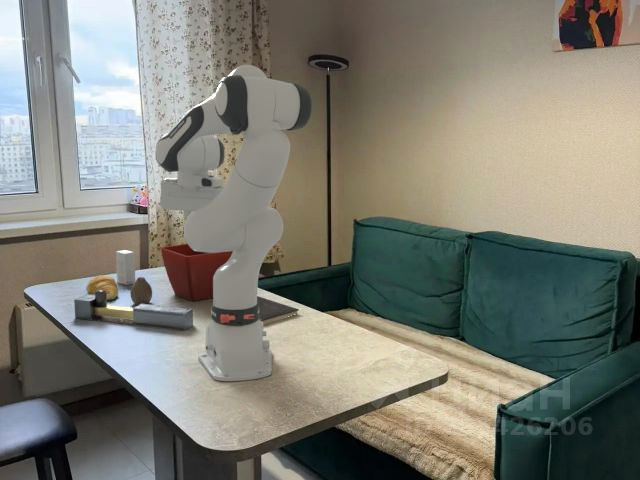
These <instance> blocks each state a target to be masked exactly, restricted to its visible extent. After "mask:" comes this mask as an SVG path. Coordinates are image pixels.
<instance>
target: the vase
mask: <svg viewBox="0 0 640 480" xmlns="http://www.w3.org/2000/svg"><path fill="white" fill-rule="evenodd" d="M130 298H131V301H132V303H133V304H134V305H136V306H138V305H140V304H149V303H150V302H151V300H152V299H153V289H152V286H151V285H150V283H149V282H148V281H147V279H146V277H144V276H140V277H136V279H135V283H133V284H132V286H131V288H130Z"/></svg>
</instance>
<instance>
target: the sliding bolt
mask: <svg viewBox="0 0 640 480" xmlns="http://www.w3.org/2000/svg"><path fill="white" fill-rule="evenodd" d="M107 303H108V302H107V299H106V290H96V291H95V304H93V315H98V316H107V317H116V318H125V319H133V308H134V307H128V306H127V307H126V306H116V305H108V304H107Z"/></svg>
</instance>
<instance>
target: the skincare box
mask: <svg viewBox="0 0 640 480" xmlns="http://www.w3.org/2000/svg"><path fill="white" fill-rule="evenodd" d="M115 259H116V260H115V261H116V263H115V264H116V283H118V284H122V285H124V286H128V285H133V284H134V283H135V282H136V265H135V264H136V263H135V259H136V258H135V252H134V251H131V250H126V249H123V250H117V251H115Z"/></svg>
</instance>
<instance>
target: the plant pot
mask: <svg viewBox="0 0 640 480" xmlns="http://www.w3.org/2000/svg"><path fill="white" fill-rule="evenodd" d="M160 250H161V251H160V252H161V256H162V261H163V265H164V269H165V272H166V275H167V278H168V281H169V284H170V286H171V288H172V291H173V293H174V294H175V295H177V296H179V297H182V298H183V299H187V300H188V301H191V302H196V301H201V300H206V299H211V298H213V277H214V274H215V272H216V271H217V269H218V268H219V267H221V266H222V265H224V264H225V263H226V262H227V261H228V260H229V259H230V257H231V255H232V252H233V251H228V252H219V253H206V252H197V251H194V250H193V249H191V248H190V246H189V245H188V244H187V243H183V244H175V245H169V246H162V247H160Z"/></svg>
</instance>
